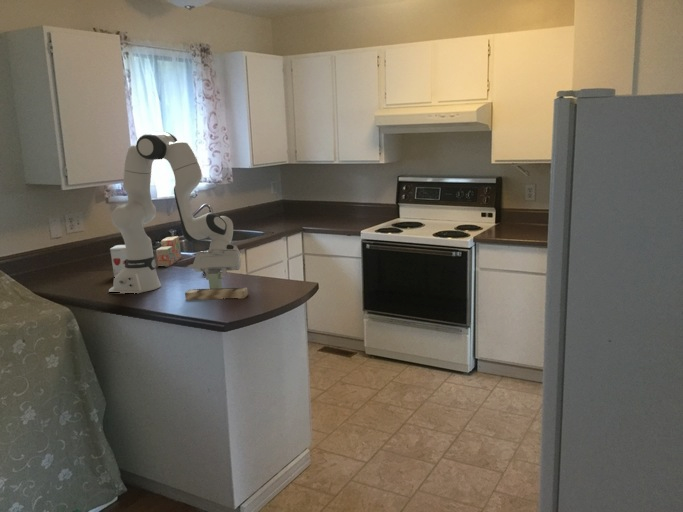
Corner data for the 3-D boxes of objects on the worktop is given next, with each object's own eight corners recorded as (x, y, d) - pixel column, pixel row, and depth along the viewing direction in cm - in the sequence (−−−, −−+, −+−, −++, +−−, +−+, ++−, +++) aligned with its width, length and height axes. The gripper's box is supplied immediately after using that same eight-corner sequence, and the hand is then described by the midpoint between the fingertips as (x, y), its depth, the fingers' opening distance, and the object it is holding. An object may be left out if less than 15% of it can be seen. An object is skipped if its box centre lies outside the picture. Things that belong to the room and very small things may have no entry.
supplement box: (113, 278, 294) (109, 248, 291) (119, 274, 303) (115, 245, 300) (132, 277, 294) (128, 247, 291) (137, 272, 303) (133, 243, 300)
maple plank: (185, 299, 248) (184, 292, 247) (190, 296, 253) (189, 289, 252) (244, 298, 244) (243, 290, 243) (247, 294, 249) (247, 287, 248)
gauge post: (210, 291, 252) (207, 272, 251) (213, 288, 256) (211, 270, 255) (219, 290, 252) (216, 272, 250) (222, 288, 256) (220, 269, 254)
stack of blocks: (169, 266, 313) (166, 243, 310) (157, 267, 313) (154, 244, 311) (181, 257, 334) (179, 235, 331) (170, 258, 334) (167, 236, 332)
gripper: (193, 247, 259) (188, 275, 251) (239, 245, 256) (235, 274, 248) (198, 255, 264) (193, 283, 257) (244, 253, 261) (239, 281, 254)
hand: (214, 278), depth 252 cm, fingers closed on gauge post, 4 cm apart
